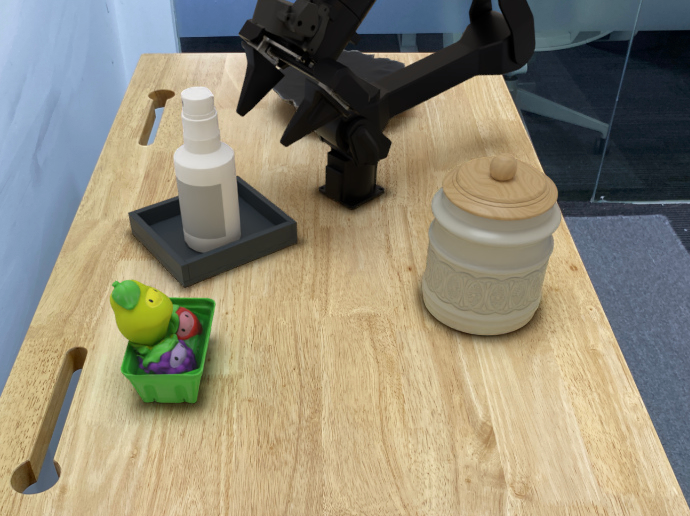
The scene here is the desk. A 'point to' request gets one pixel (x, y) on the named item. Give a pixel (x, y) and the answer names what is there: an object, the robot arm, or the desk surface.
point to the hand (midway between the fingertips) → (260, 129)
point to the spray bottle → (205, 176)
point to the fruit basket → (162, 340)
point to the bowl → (357, 61)
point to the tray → (192, 266)
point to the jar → (490, 244)
